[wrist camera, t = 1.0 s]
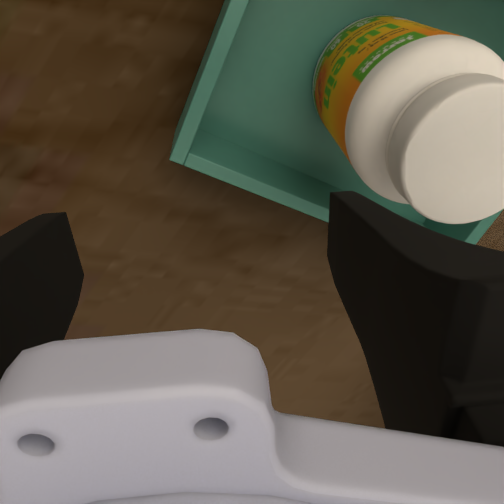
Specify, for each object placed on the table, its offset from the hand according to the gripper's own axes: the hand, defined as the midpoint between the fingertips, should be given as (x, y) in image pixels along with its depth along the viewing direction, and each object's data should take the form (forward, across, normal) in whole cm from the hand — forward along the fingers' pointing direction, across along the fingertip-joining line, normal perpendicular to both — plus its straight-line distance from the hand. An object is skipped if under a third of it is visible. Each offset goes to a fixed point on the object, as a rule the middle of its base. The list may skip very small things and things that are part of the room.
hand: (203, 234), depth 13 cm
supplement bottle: (+10, -7, -2) cm, 13 cm away
